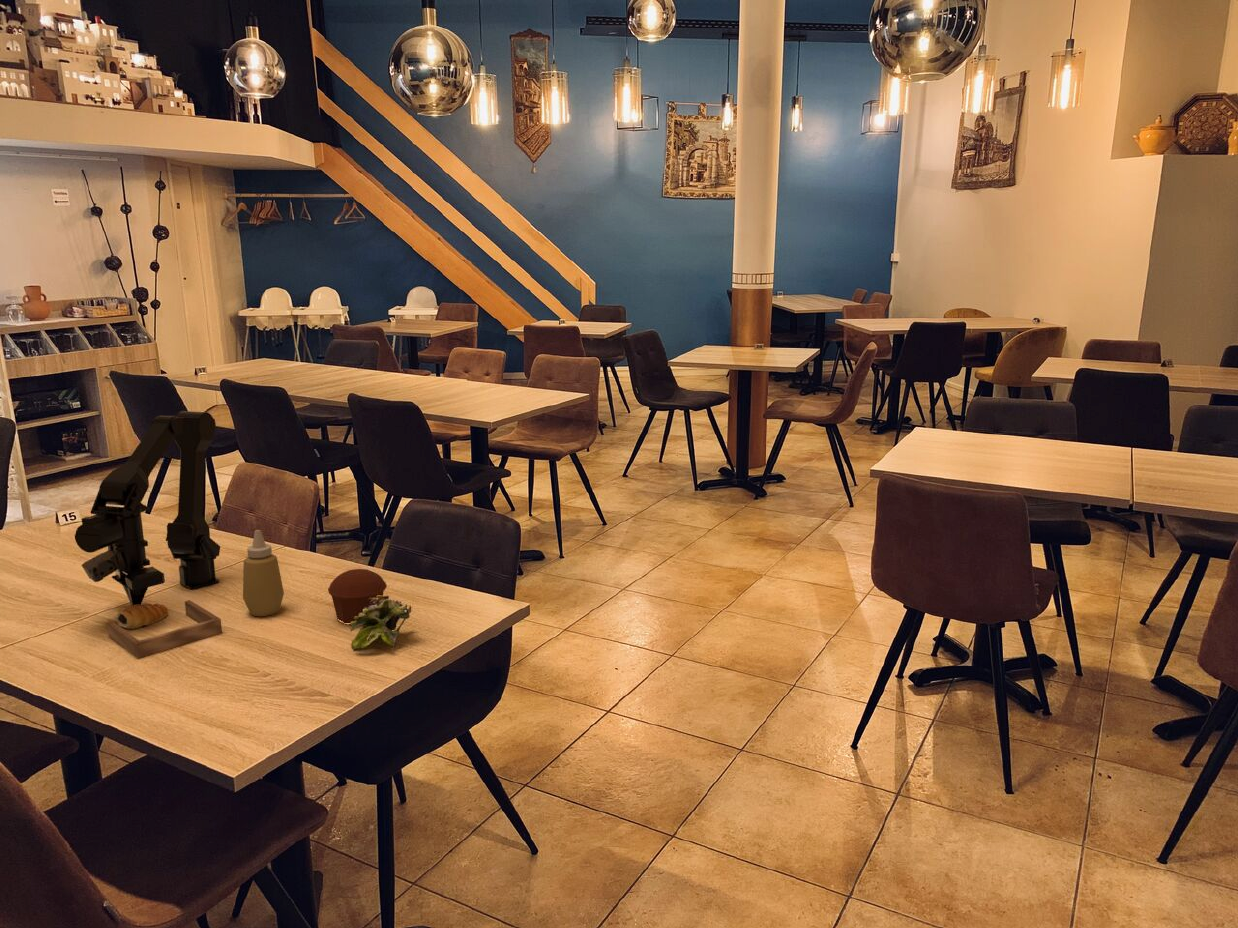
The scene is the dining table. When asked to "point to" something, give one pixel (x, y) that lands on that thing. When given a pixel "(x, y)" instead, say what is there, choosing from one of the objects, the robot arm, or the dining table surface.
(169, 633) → the box
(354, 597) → the muffin
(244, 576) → the squeeze bottle
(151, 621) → the pastry
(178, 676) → the dining table surface
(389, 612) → the green leafy plant
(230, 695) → the dining table surface
